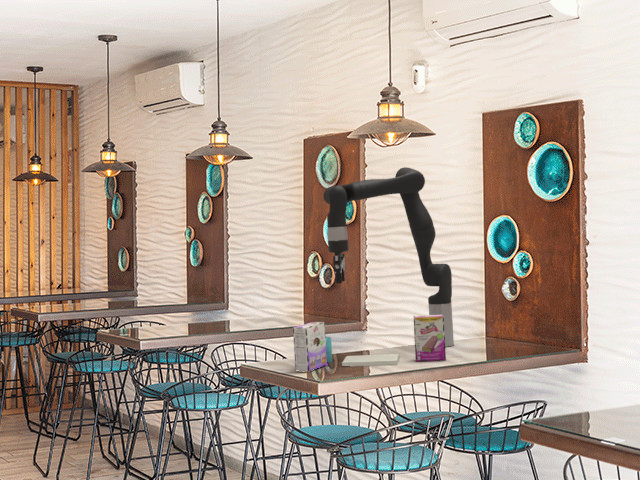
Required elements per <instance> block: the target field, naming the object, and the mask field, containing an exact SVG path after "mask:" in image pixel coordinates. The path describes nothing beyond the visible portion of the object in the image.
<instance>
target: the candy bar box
mask: <svg viewBox="0 0 640 480" xmlns="http://www.w3.org/2000/svg"><path fill="white" fill-rule="evenodd" d="M413 334H414V352H415V353H414V354H415V357H414V358H415V361H416V362H433V361H435V362H436V361H439V362H440V360H441V361H446V360H447V359H446V358H447V355H446V353H447V351H446V347H445V333H444V316H443V315H429V314H425V315H413Z"/></svg>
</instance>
